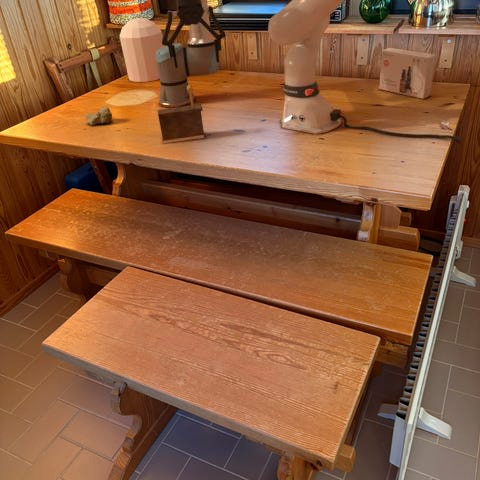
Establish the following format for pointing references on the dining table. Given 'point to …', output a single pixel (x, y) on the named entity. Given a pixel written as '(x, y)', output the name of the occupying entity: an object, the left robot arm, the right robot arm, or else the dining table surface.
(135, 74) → the container
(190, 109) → the lid
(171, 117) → the chest
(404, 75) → the skincare box
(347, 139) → the dining table surface
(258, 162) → the dining table surface
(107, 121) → the rock
